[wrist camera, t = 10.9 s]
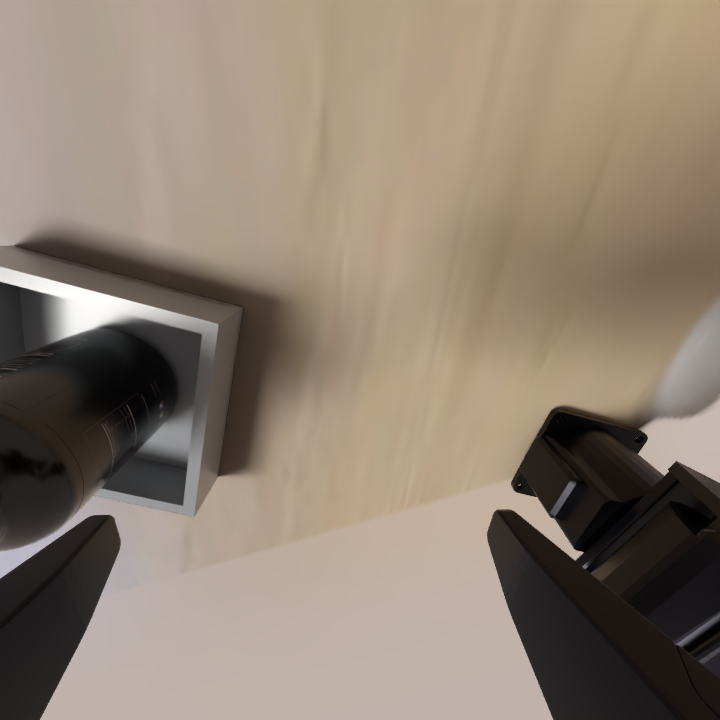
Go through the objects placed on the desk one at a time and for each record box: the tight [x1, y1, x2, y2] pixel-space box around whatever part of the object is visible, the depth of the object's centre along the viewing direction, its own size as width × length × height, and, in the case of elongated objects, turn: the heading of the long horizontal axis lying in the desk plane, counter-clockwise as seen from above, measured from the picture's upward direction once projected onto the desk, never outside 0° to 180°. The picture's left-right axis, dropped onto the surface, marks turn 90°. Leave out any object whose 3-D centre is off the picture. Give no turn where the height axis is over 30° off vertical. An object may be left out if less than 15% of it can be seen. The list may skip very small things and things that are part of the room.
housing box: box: [0, 246, 243, 517], centre depth 19 cm, size 12×12×4 cm
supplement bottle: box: [0, 329, 177, 551], centre depth 15 cm, size 7×7×12 cm
